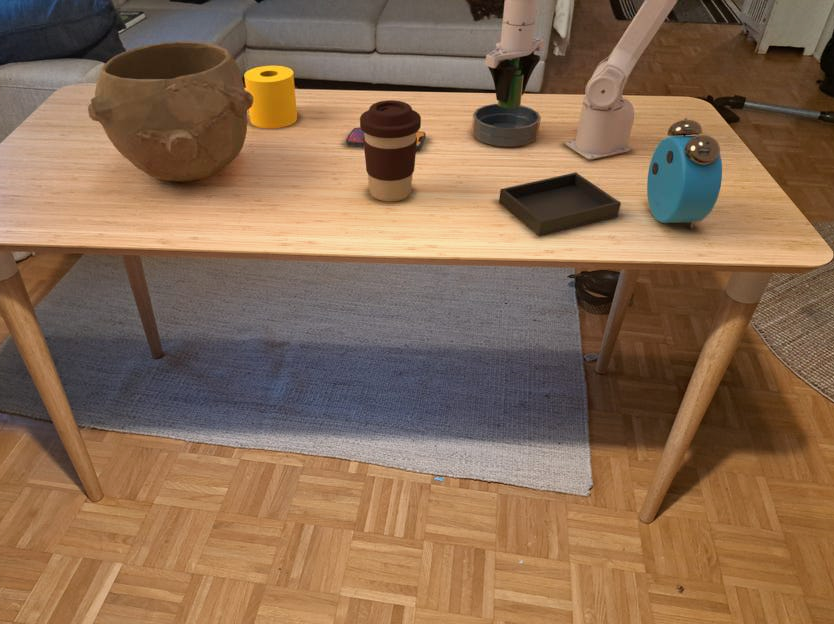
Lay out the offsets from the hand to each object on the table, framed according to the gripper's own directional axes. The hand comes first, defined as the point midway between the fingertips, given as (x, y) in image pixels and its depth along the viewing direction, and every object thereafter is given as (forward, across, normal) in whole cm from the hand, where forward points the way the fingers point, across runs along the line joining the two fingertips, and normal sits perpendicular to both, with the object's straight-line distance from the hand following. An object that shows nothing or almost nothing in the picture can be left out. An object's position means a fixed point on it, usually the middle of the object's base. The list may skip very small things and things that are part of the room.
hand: (509, 97), depth 131 cm
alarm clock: (+8, +7, +40) cm, 41 cm away
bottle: (+1, 0, 0) cm, 1 cm away
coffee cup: (+8, +33, +1) cm, 34 cm away
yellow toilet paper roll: (+8, +28, -40) cm, 50 cm away
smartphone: (+8, +19, -15) cm, 25 cm away
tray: (+8, +18, +25) cm, 31 cm away
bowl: (+8, +54, -32) cm, 63 cm away
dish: (+8, 0, 0) cm, 8 cm away
